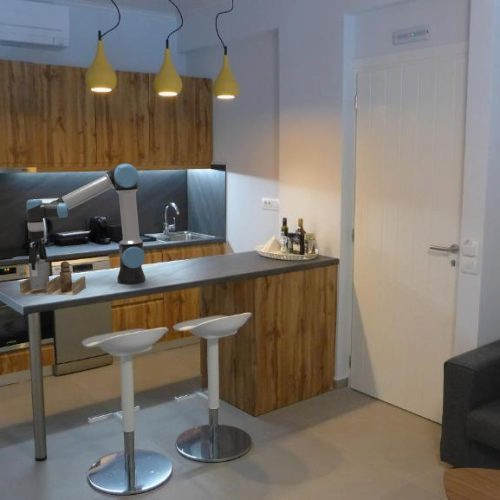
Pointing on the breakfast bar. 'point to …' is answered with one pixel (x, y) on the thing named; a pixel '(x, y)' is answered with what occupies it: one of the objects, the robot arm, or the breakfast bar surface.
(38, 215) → the robot arm
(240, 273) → the breakfast bar surface
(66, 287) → the pepper mill
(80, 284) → the rack
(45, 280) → the grey notched block
